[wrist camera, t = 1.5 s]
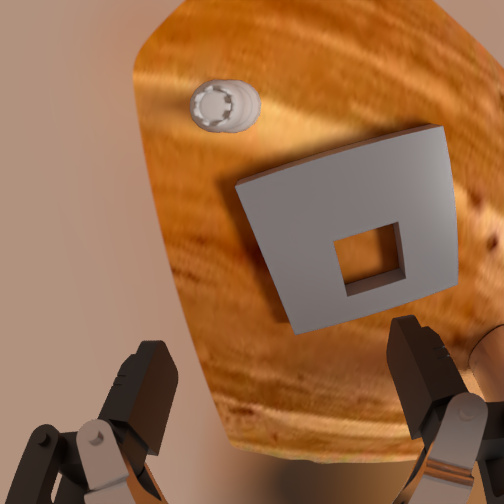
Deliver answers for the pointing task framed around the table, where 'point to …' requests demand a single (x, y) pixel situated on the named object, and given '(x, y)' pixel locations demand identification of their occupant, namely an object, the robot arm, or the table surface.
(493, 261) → the table surface
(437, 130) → the socket dock
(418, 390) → the robot arm
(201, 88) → the rook chess piece
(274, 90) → the table surface
